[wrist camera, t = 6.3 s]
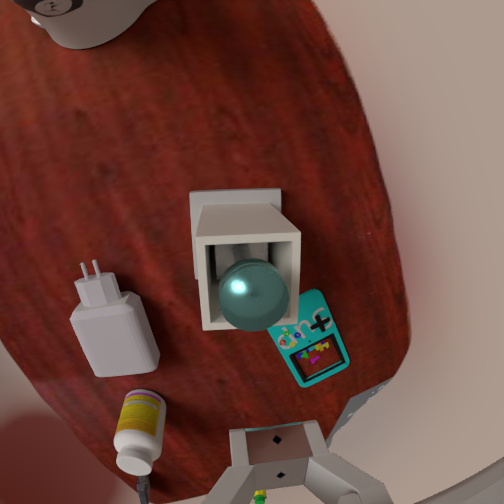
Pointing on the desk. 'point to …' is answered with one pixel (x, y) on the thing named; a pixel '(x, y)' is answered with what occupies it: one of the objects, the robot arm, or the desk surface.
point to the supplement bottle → (140, 431)
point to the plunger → (249, 286)
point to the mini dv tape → (143, 488)
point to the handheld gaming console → (309, 337)
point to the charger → (113, 327)
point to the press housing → (242, 231)
